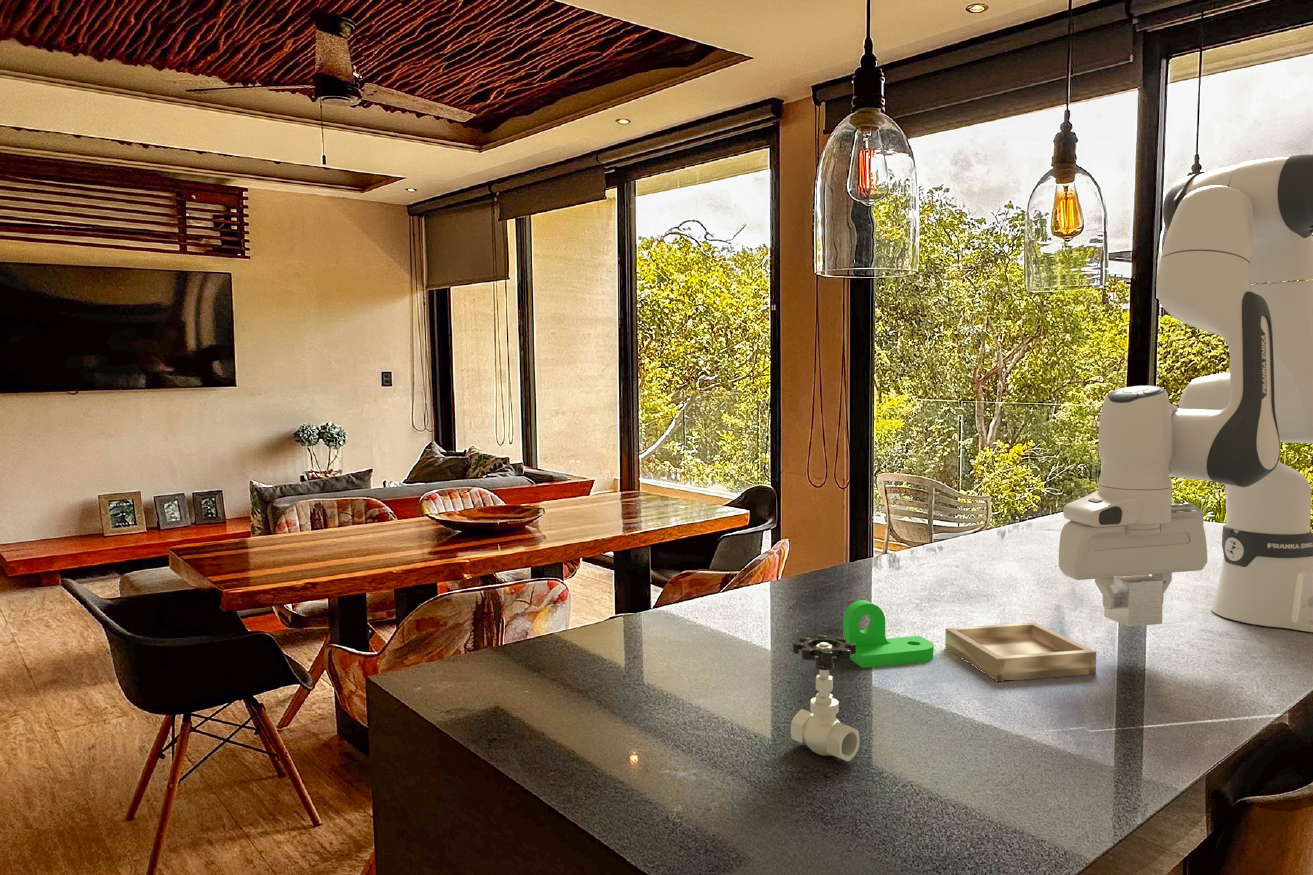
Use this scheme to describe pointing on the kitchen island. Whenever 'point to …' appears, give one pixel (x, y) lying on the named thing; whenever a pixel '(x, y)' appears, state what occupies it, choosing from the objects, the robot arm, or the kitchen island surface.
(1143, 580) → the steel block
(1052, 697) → the kitchen island surface
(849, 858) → the kitchen island surface
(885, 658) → the mechanical part
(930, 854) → the kitchen island surface
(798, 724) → the valve
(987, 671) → the tray
